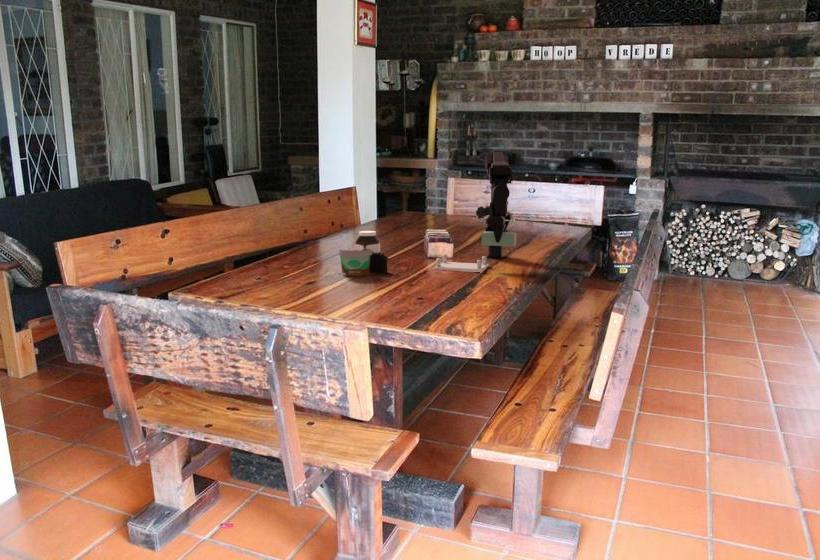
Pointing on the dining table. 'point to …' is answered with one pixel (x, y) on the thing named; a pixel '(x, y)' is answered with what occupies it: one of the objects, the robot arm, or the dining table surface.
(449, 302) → the dining table surface
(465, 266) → the plate
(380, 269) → the film camera
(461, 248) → the dining table surface
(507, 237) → the green board
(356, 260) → the food container
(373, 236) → the spread jar
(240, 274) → the dining table surface
